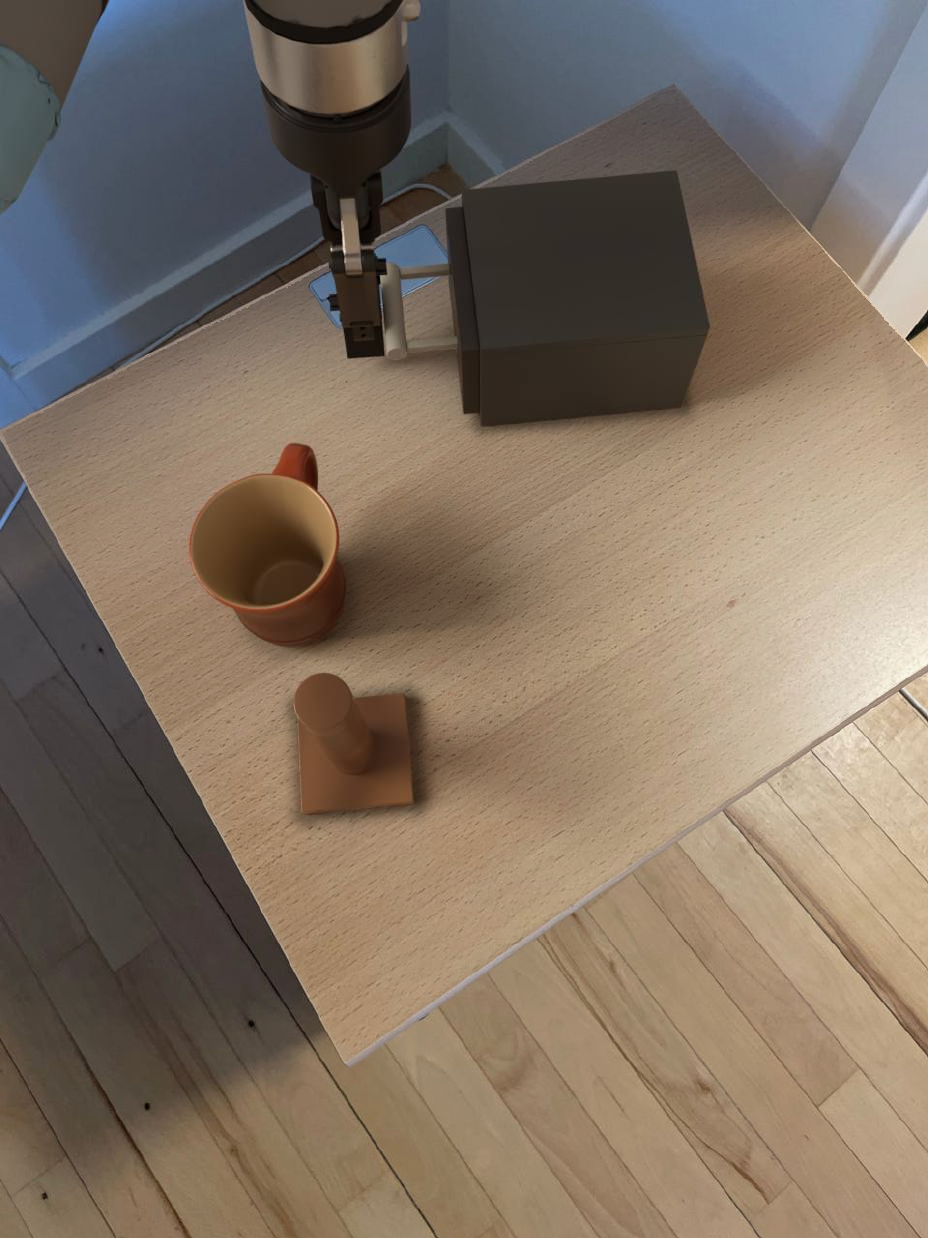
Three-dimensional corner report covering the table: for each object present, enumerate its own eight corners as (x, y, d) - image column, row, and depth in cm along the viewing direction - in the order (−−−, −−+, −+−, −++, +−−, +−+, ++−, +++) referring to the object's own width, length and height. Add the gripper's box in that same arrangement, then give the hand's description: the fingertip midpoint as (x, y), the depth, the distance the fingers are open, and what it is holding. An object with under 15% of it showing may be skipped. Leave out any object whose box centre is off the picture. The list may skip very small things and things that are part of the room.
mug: (342, 674, 65) (317, 624, 55) (215, 649, 66) (169, 595, 56) (383, 512, 69) (367, 439, 59) (263, 490, 70) (228, 414, 60)
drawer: (395, 420, 70) (384, 357, 63) (383, 288, 74) (373, 214, 67) (650, 396, 71) (670, 331, 63) (626, 265, 74) (642, 189, 67)
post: (303, 814, 62) (255, 775, 49) (299, 707, 64) (251, 642, 51) (414, 803, 62) (395, 761, 49) (405, 696, 65) (385, 629, 51)
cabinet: (481, 426, 71) (480, 348, 62) (464, 282, 75) (461, 189, 66) (681, 407, 71) (710, 327, 62) (653, 264, 75) (677, 169, 66)
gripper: (420, 164, 47) (424, 423, 69) (399, -32, 51) (410, 271, 73) (261, 173, 46) (317, 431, 69) (254, -26, 51) (309, 277, 73)
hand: (365, 348), depth 71 cm, fingers closed
